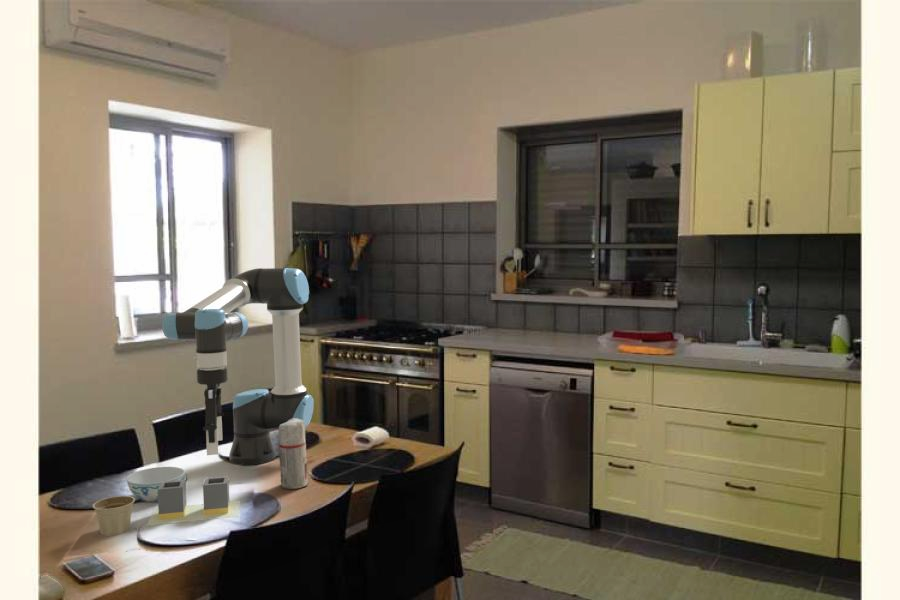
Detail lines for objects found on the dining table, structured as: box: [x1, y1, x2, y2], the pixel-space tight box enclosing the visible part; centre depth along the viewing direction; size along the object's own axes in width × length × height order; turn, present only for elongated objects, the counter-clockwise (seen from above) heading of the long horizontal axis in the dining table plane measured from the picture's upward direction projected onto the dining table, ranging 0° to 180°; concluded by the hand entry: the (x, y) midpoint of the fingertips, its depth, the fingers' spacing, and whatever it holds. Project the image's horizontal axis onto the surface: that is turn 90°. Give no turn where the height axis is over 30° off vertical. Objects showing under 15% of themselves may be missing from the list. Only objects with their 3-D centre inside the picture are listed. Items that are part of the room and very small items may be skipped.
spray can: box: [277, 418, 309, 490], centre depth 207 cm, size 8×8×20 cm
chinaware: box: [126, 466, 185, 503], centre depth 195 cm, size 15×15×8 cm
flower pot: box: [92, 495, 136, 537], centre depth 171 cm, size 9×9×9 cm
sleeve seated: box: [157, 479, 188, 520], centre depth 181 cm, size 6×6×8 cm
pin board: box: [146, 500, 241, 527], centre depth 183 cm, size 12×22×6 cm, turn 104°
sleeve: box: [202, 475, 231, 515], centre depth 184 cm, size 6×6×8 cm
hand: (214, 447), depth 183 cm, fingers open, 13 cm apart
